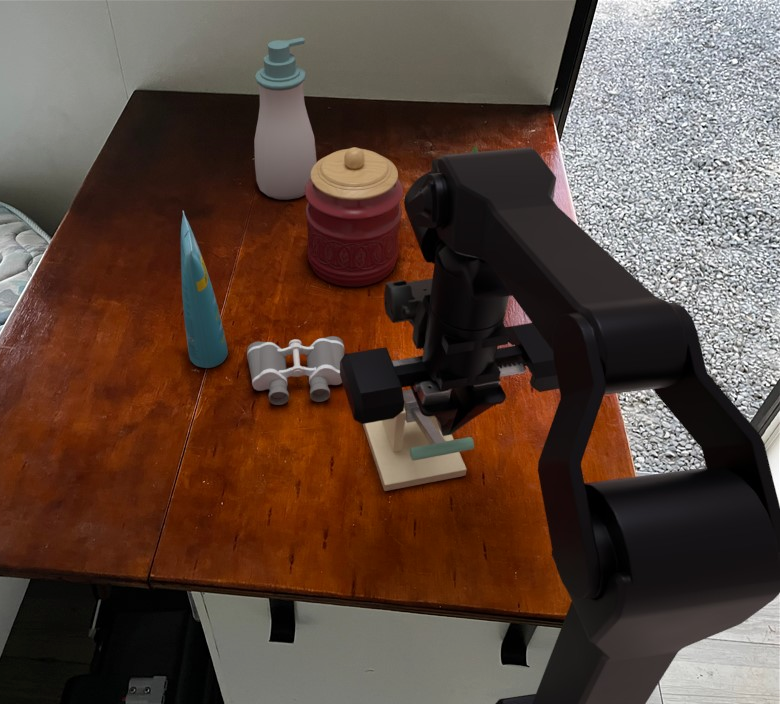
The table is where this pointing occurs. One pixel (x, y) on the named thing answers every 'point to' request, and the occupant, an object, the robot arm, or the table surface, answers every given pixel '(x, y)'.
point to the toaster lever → (431, 433)
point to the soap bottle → (283, 125)
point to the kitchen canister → (353, 217)
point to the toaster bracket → (408, 454)
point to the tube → (200, 306)
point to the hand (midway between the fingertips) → (445, 431)
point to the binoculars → (296, 367)
